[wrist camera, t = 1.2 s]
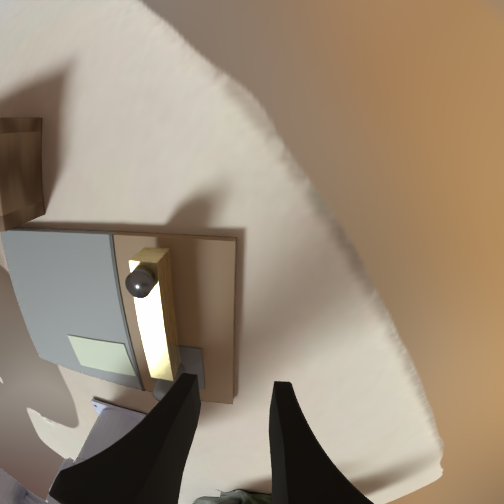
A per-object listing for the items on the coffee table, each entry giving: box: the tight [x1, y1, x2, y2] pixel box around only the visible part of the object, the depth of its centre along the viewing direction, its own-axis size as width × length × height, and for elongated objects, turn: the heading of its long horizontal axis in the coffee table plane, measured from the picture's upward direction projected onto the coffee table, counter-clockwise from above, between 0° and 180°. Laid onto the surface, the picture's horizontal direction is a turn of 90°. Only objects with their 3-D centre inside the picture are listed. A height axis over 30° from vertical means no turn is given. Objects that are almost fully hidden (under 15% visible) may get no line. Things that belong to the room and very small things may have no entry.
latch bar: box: [125, 247, 181, 381], centre depth 17 cm, size 10×2×3 cm, turn 177°
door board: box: [1, 228, 237, 404], centre depth 19 cm, size 16×24×4 cm, turn 87°
